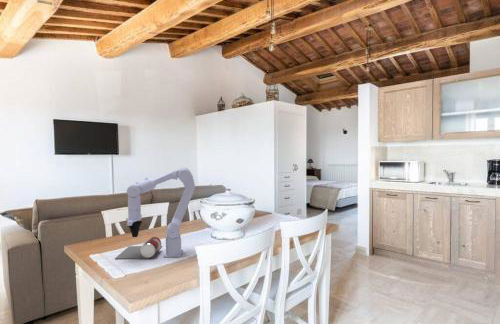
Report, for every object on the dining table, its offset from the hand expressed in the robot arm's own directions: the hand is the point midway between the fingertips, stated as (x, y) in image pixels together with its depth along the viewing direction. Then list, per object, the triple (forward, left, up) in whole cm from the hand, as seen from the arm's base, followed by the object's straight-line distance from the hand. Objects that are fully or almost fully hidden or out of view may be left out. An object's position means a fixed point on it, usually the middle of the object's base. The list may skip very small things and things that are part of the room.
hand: (135, 236), depth 143 cm
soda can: (+3, +7, -6) cm, 10 cm away
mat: (-7, 0, -10) cm, 13 cm away
